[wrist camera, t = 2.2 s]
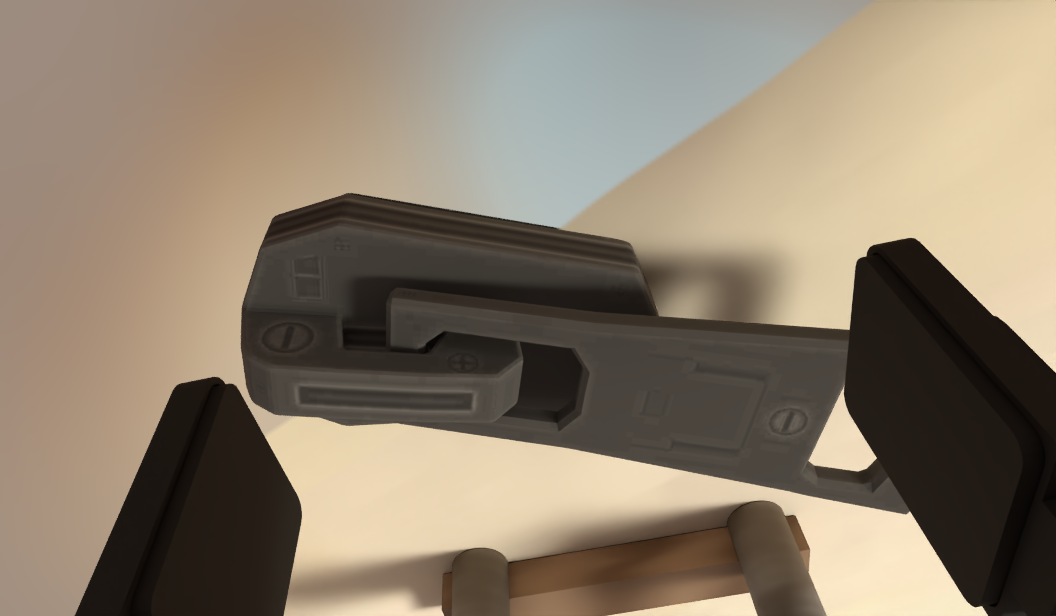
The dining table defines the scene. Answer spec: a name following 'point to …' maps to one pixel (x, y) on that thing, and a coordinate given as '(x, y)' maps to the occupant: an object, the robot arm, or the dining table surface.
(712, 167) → the dining table surface
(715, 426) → the zipper pull
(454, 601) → the peg stop rail
